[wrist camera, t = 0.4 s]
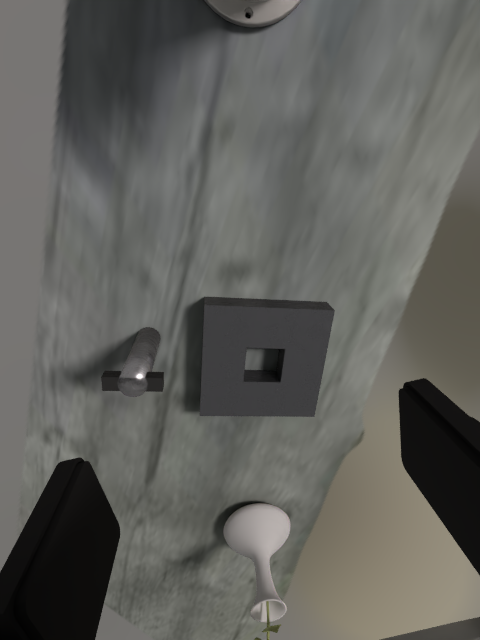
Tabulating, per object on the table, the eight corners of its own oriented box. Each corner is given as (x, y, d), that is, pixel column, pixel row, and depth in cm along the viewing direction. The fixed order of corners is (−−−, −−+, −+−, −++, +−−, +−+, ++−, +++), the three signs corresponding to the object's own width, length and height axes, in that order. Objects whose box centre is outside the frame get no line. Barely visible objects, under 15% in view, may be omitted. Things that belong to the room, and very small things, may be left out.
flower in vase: (245, 487, 58) (271, 695, 35) (301, 509, 61) (358, 713, 38) (205, 536, 61) (205, 754, 38) (259, 555, 65) (289, 766, 42)
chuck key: (124, 326, 45) (100, 371, 35) (172, 328, 46) (162, 372, 36) (125, 347, 46) (103, 396, 36) (172, 348, 47) (162, 397, 37)
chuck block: (204, 296, 44) (204, 304, 42) (326, 302, 46) (334, 310, 43) (200, 402, 51) (199, 415, 48) (308, 403, 52) (314, 416, 50)
